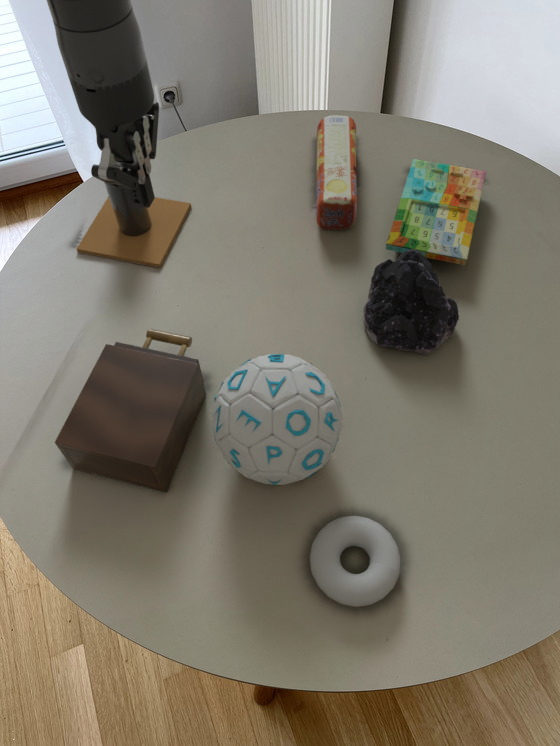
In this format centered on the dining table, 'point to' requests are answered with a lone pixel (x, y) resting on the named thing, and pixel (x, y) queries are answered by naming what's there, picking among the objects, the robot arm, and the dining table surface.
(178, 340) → the drawer
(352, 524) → the donut
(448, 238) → the puzzle game
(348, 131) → the snack package
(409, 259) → the crystal cluster
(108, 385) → the cabinet
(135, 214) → the dark grey cylinder
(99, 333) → the dining table surface
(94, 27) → the robot arm
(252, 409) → the puzzle ball
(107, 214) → the cork mat
